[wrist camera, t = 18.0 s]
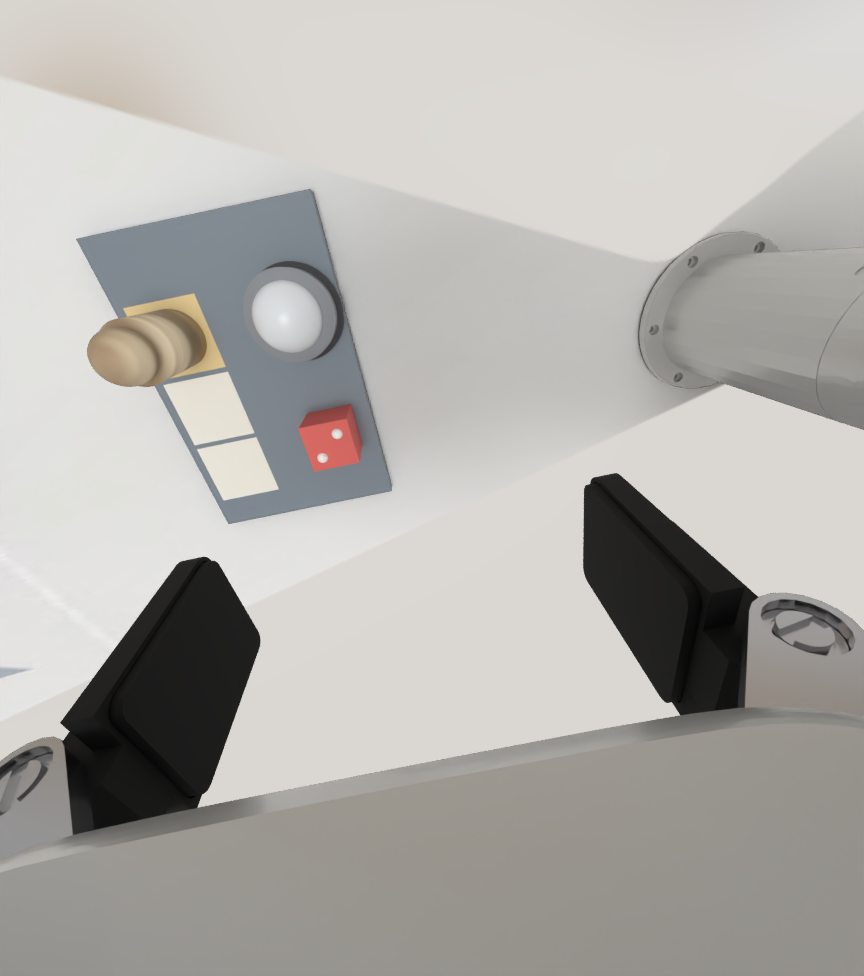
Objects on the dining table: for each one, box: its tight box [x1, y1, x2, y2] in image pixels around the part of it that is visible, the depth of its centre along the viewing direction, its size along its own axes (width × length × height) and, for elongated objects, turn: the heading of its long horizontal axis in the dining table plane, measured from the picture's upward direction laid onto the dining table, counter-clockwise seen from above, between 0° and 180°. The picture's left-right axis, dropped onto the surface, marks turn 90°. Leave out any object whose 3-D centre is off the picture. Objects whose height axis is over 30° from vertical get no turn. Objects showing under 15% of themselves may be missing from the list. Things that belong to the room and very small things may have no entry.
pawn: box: [87, 309, 207, 387], centre depth 28 cm, size 4×4×9 cm
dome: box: [242, 267, 337, 363], centre depth 28 cm, size 6×6×5 cm
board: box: [76, 189, 392, 524], centre depth 32 cm, size 17×25×6 cm
